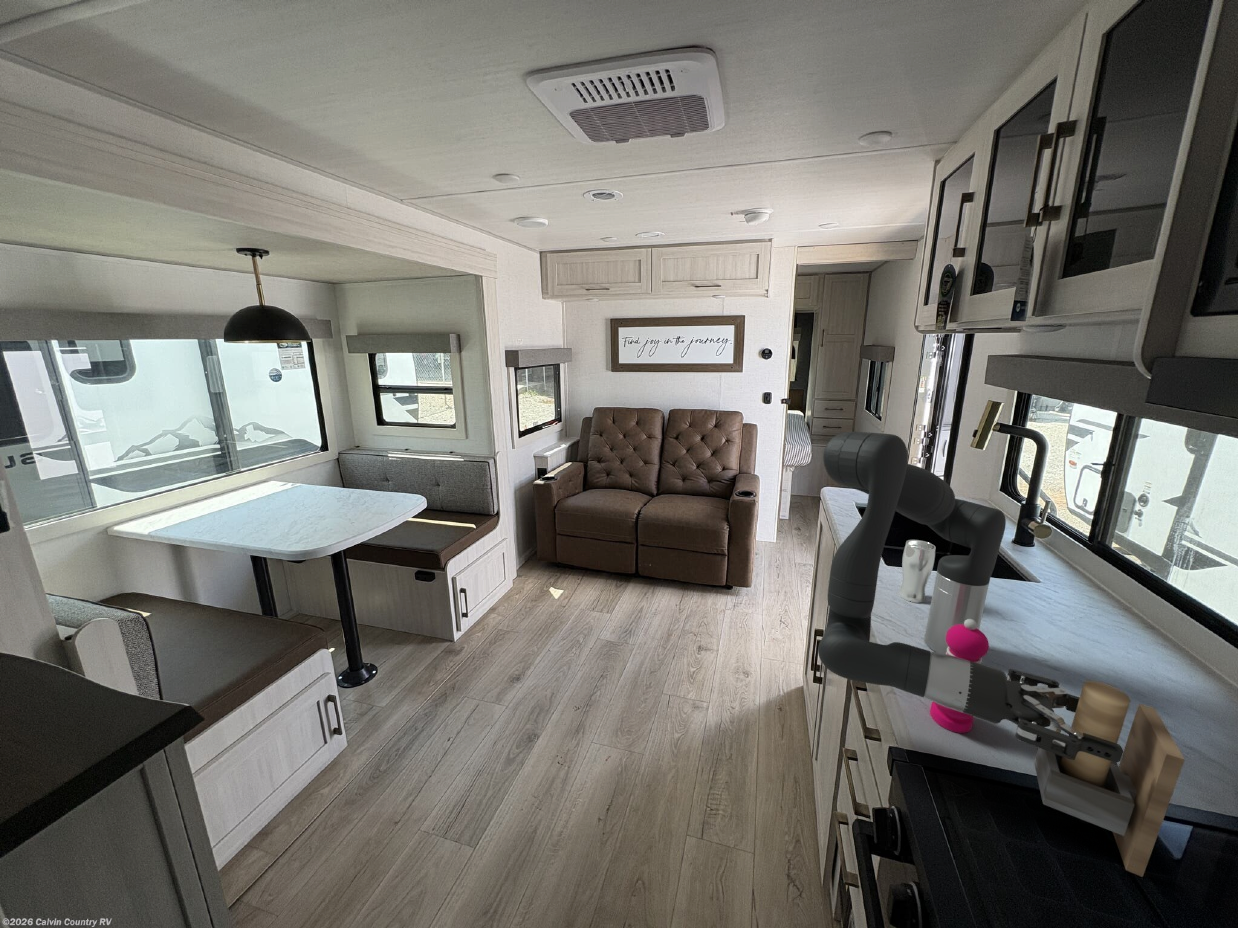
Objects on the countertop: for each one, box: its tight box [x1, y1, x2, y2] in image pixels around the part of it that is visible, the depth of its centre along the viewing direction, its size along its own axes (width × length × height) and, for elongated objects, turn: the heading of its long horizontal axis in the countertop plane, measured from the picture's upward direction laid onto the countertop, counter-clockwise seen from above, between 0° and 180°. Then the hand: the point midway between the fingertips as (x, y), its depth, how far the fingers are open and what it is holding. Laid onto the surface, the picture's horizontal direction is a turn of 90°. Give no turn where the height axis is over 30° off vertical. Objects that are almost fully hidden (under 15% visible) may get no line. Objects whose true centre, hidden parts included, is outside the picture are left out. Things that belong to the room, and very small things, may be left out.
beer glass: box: [898, 539, 936, 604], centre depth 127 cm, size 7×7×15 cm
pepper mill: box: [929, 619, 990, 734], centre depth 84 cm, size 7×7×20 cm
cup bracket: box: [1033, 703, 1186, 878], centre depth 66 cm, size 10×10×18 cm
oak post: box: [1059, 680, 1131, 788], centre depth 66 cm, size 4×4×16 cm
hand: (1111, 732), depth 64 cm, fingers open, 8 cm apart
